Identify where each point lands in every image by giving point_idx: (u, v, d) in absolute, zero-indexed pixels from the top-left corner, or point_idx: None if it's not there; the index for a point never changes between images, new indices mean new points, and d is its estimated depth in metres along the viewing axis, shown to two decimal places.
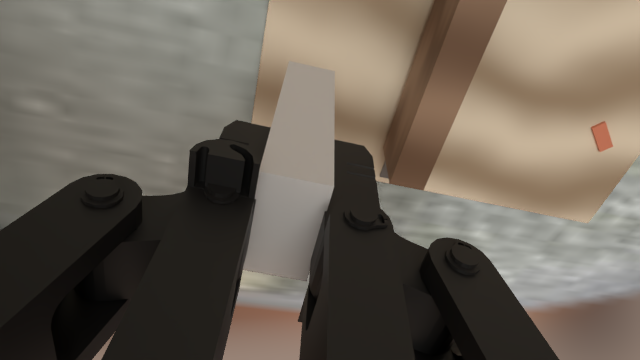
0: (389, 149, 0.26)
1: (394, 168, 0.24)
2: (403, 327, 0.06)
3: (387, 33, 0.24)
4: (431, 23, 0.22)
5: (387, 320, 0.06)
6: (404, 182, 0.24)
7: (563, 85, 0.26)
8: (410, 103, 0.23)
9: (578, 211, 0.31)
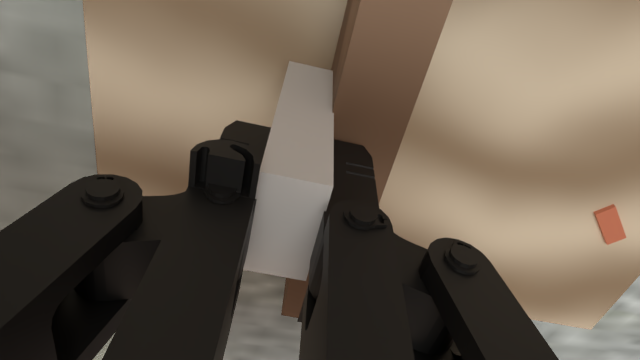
0: None
1: (286, 294, 0.15)
2: (403, 327, 0.06)
3: (277, 83, 0.16)
4: None
5: (387, 320, 0.06)
6: None
7: (551, 156, 0.17)
8: None
9: (577, 315, 0.22)
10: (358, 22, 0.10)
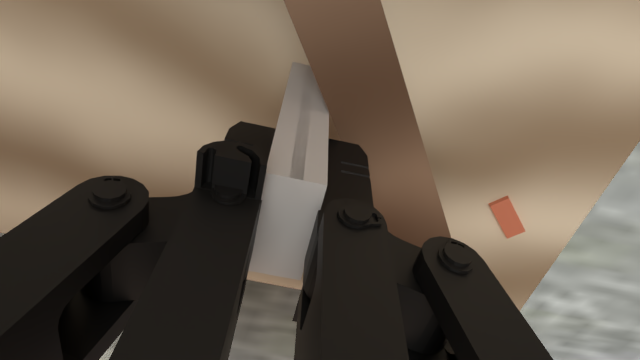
0: None
1: None
2: (397, 326, 0.06)
3: (144, 64, 0.15)
4: None
5: (381, 319, 0.06)
6: None
7: (435, 143, 0.17)
8: None
9: None
10: (287, 2, 0.10)
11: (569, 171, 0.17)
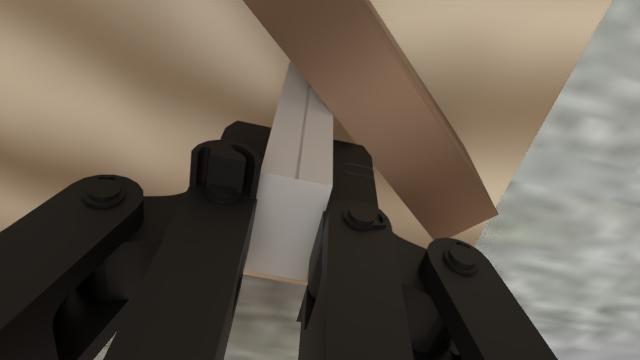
0: None
1: (419, 221, 0.13)
2: (402, 327, 0.06)
3: (35, 33, 0.15)
4: None
5: (386, 320, 0.06)
6: (456, 227, 0.13)
7: None
8: None
9: None
10: None
11: (482, 145, 0.17)
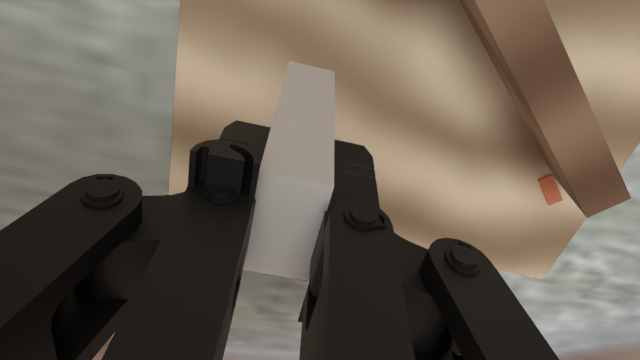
0: (558, 179, 0.22)
1: (578, 202, 0.20)
2: (403, 327, 0.06)
3: None
4: (494, 60, 0.20)
5: (387, 320, 0.06)
6: (602, 206, 0.20)
7: (504, 135, 0.24)
8: (539, 137, 0.20)
9: (531, 266, 0.29)
10: (493, 32, 0.16)
11: None
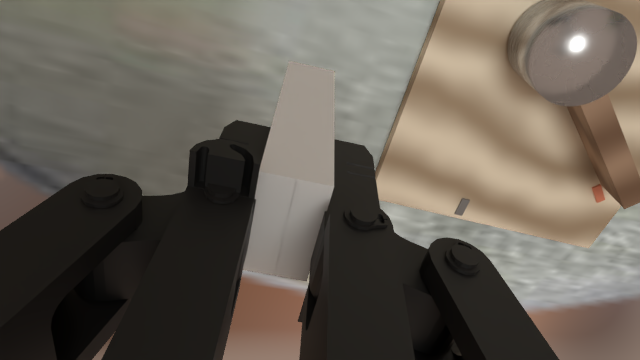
0: (607, 188, 0.41)
1: (620, 200, 0.39)
2: (403, 327, 0.06)
3: (471, 130, 0.40)
4: (578, 126, 0.38)
5: (387, 320, 0.06)
6: (632, 203, 0.39)
7: (575, 162, 0.42)
8: (600, 166, 0.39)
9: (582, 240, 0.47)
10: (587, 119, 0.35)
11: None
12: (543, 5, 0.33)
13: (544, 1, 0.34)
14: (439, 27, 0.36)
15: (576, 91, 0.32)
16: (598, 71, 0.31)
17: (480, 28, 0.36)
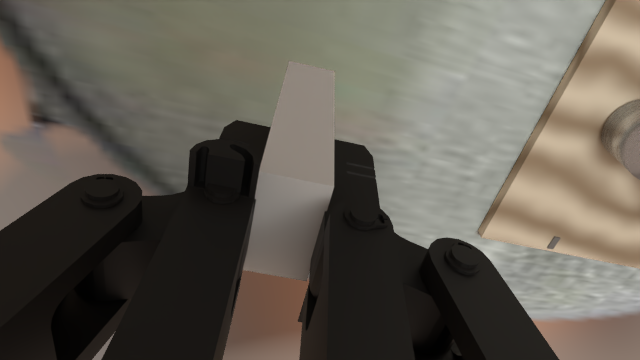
0: None
1: None
2: (403, 327, 0.06)
3: (566, 188, 0.53)
4: None
5: (387, 320, 0.06)
6: None
7: None
8: None
9: None
10: None
11: None
12: (633, 108, 0.45)
13: (633, 104, 0.46)
14: (551, 120, 0.48)
15: None
16: None
17: (581, 120, 0.48)
